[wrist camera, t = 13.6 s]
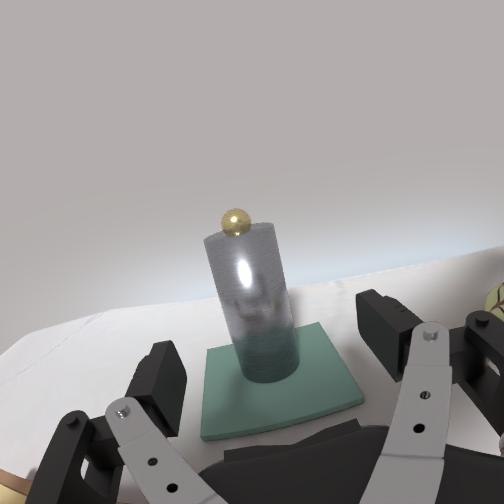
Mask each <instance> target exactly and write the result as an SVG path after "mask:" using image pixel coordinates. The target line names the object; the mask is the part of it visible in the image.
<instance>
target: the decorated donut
mask: <svg viewBox="0 0 504 504" xmlns="http://www.w3.org/2000/svg"><path fill="white" fill-rule="evenodd" d="M485 311H488V312H491V313H493V314H494V315H495V316H497V317H498V318H500V319H501V320H502V321H504V283H502V284H500V285H498V286H497V287H495V288H494V289H492V290H491V291H490V293H489V294H488V295H487V297H486V304H485Z"/></svg>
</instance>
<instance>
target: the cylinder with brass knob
mask: <svg viewBox="0 0 504 504" xmlns="http://www.w3.org/2000/svg"><path fill="white" fill-rule="evenodd" d="M221 226H222V229H223V231H221V232H218V233H216V234H213V235H211V236H209V237H207V238H206V239H204V244H205V248H206V252H207V255H208V259H209V263H210V267H211V270H212V274H213V277H214V281H215V285H216V288H217V292H218V295H219V299H220V302H221V306H222V309H223V313H224V316H225V319H226V323H227V326H228V329H229V333H230V336H231V339H232V343H233V346H234V349H235V352H236V355H237V359H238V362H239V365H240V368H241V371H242V374H243V376H244V377H245V378H246V379H248V380H250V381H252V382H255V383H272V382H277V381H280V380H282V379H285V378H287V377H288V376H290V375H291V374H292V373H293V372H294V371H295V370H296V369H297V368H298V366H299V363H300V358H299V353H298V347H297V341H296V336H295V331H294V325H293V320H292V314H291V309H290V304H289V299H288V294H287V289H286V283H285V278H284V273H283V268H282V263H281V259H280V254H279V249H278V244H277V239H276V235H275V230H274V226H273V224H272V223H256V224H251V219H250V216H249V215H248V214H247V213H246V212H245V211H244V210H242V209H231V210H229V211H227V212H226V213H225V214H224V216H223V218H222V222H221Z"/></svg>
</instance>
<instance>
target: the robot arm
mask: <svg viewBox="0 0 504 504" xmlns="http://www.w3.org/2000/svg"><path fill="white" fill-rule="evenodd" d="M356 310H357V322H358V329H359V333H360V335H361V337H362V339H363V340H364V341H365V343H366V344H367V345H368V346H369V348H370V349H371V350H372V352H373V353H374V354H375V356H376V357H377V358H378V359H379V361H380V362H381V363H382V365H383V366H384V367H385V369H386V370H387V371H388V373H389V374H390V375H391V377H392V378H393V379H394V381H395V382H396V383H397V382H399V381H401V380H402V384H401V388H400V392H399V396H398V400H397V404H396V408H395V411H394V415H393V418H392V422H391V425H390V427H389V426H381V425H369V426H360V425H359V423H358V421H357V418H356V419H353V420H350V421H347V422H344V423H341V424H338V425H335V426H332V427H329V428H326V429H324V430H322V431H320V432H318V433H316V434H314V435H312V436H310V437H308V438H306V439H304V440H302V441H300V442H297V443H295V444H292V445H272V446H251V447H245V448H239V449H232V450H225V451H224V460H222V461H219V462H217V463H215V464H213V465H211V466H209V467H207V468H206V469H204V470H203V471H201V472H200V473H199V474H197V473H196V472H195V471H194V470H193V469H192V468H191V467H190V466H189V465H188V463H187V462H186V461H185V460H184V459H183V458H182V457H181V456H180V454H179V453H178V452H177V451H176V450H175V449H174V447H173V446H172V445H171V444H170V443H169V441H168V440H167V437H178V431H179V425H180V419H181V413H182V407H183V401H184V395H185V390H186V384H187V375H186V371H185V368H184V366H183V363H182V361H181V359H180V357H179V355H178V352H177V350H176V348H175V345H174V344H173V342H172V341H171V340H169V341H163V342H158V343H154V344H153V347H152V349H151V352H150V354H149V355H147V356H145V357H144V358H143V359H142V360H141V361H140V362H139V364H138V366H137V368H136V372H135V373H134V375H133V379H132V380H131V382H130V385H129V387H128V390H127V392H126V394H125V397H124V398H120V399H118V400H116V401H114V402H112V403H111V404H110V405H109V406H108V408H107V409H106V412H105V415H104V416H100V417H97V418H93V419H89V417H88V416H87V415H86V413H85V412H83V411H80V410H76V411H72V412H70V413H68V414H66V415H65V416H64V417H63V418H62V419H61V421H60V422H59V424H58V426H57V428H56V430H55V433H54V435H53V437H52V439H51V441H50V443H49V445H48V448H47V450H46V452H45V454H44V456H43V459H42V461H41V463H40V466H39V468H38V470H37V473H36V475H35V478H34V480H33V483H32V485H31V488H30V490H29V493H28V496H27V498H26V501H25V504H116V501H117V496H118V491H119V485H120V480H121V475H122V470H123V466H124V465H126V466H127V468H128V470H129V471H130V473H131V475H132V477H133V478H134V480H135V482H136V483H137V485H138V486H139V488H140V490H141V491H142V493H143V494H144V496H145V497H146V499H147V500H148V502H149V503H150V504H504V321H502V320H501V319H500V318H498V317H497V316H495V315H494V314H493V313H491V312H488V311H475V312H472V313H470V314H469V315H468V316H467V318H466V323H465V326H464V327H459V328H455V329H451V330H448V328H447V327H446V326H445V325H443V324H441V323H438V322H423V321H422V320H421V319H420V318H419V317H417V316H416V315H415V314H414V313H412V312H411V311H410V310H408V308H406V307H405V306H404V305H402V304H401V303H400V302H399V301H398V300H396V299H394V298H391V297H388V296H384V297H382V296H381V295H380V294H379V293H377V292H376V291H375V290H374V289H370V290H367V291H364V292H361V293H358V294H356ZM489 360H490V361H491V362H492V363H494V364H495V365H496V366H497V368H498V369H499V372H500V376H499V375H498V374H497V373H496V372H495V371H494V370H493V369H492V368H491V367H490V366H489V365H488V362H489ZM455 383H458V384H459V386H460V387H461V388H462V389H463V390H464V392H465V393H466V394H467V395H468V396H469V398H470V399H471V400H472V401H473V403H474V404H475V405H476V406H477V408H478V409H479V410H480V411H481V413H482V414H483V415H484V417H485V418H486V419H487V420H488V422H489V423H490V424H491V426H492V427H493V428H494V430H495V431H496V432H497V434H498V435H499V436H500V441H499V449H500V452H501V455H500V456H497V455H491V454H486V453H482V452H477V451H473V450H468V449H464V448H460V447H456V446H452V445H449V444H446V438H447V431H448V423H449V414H450V402H451V386H452V384H455ZM84 458H85V459H86V460H87V461H88V462H89V465H88V468H87V471H86V474H85V478H84V480H83V478H82V476H81V467H82V463H83V460H84Z"/></svg>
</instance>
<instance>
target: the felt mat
mask: <svg viewBox="0 0 504 504" xmlns="http://www.w3.org/2000/svg"><path fill="white" fill-rule="evenodd" d="M294 331H295V336H296V341H297V347H298V353H299V358H300V363H299V366H298V368H297V369H296V370H295V371H294V372H293V373H292V374H291V375H290V376H288V377H287V378H285V379H282V380H280V381H277V382H272V383H255V382H252V381H250V380H248V379H246V378H245V377H244V376H243V374H242V371H241V368H240V365H239V362H238V359H237V355H236V352H235V349H234V346H233V344H230V345H226V346H221V347H217V348H212V349H207V358H206V370H205V381H204V394H203V407H202V421H201V436H200V437H201V438H202V440H203V441H211V440H219V439H226V438H232V437H238V436H244V435H250V434H255V433H260V432H265V431H269V430H274V429H278V428H282V427H286V426H290V425H294V424H298V423H302V422H305V421H309V420H312V419H316V418H319V417H322V416H326V415H329V414H332V413H335V412H338V411H341V410H344V409H347V408H350V407H352V406H355V405H358V404H360V403H363V402H364V395H363V393H362V392H361V390H360V388H359V387H358V385H357V384H356V382H355V380H354V379H353V377H352V375H351V374H350V372H349V370H348V369H347V367H346V365H345V364H344V362H343V360H342V359H341V357H340V356H339V354H338V352H337V351H336V349H335V347H334V346H333V344H332V343H331V341H330V339H329V338H328V336H327V334H326V333H325V331H324V330H323V328H322V326H321V325H320V323H319V322H316V323H313V324H309V325H306V326H302V327H299V328H295V329H294Z"/></svg>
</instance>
